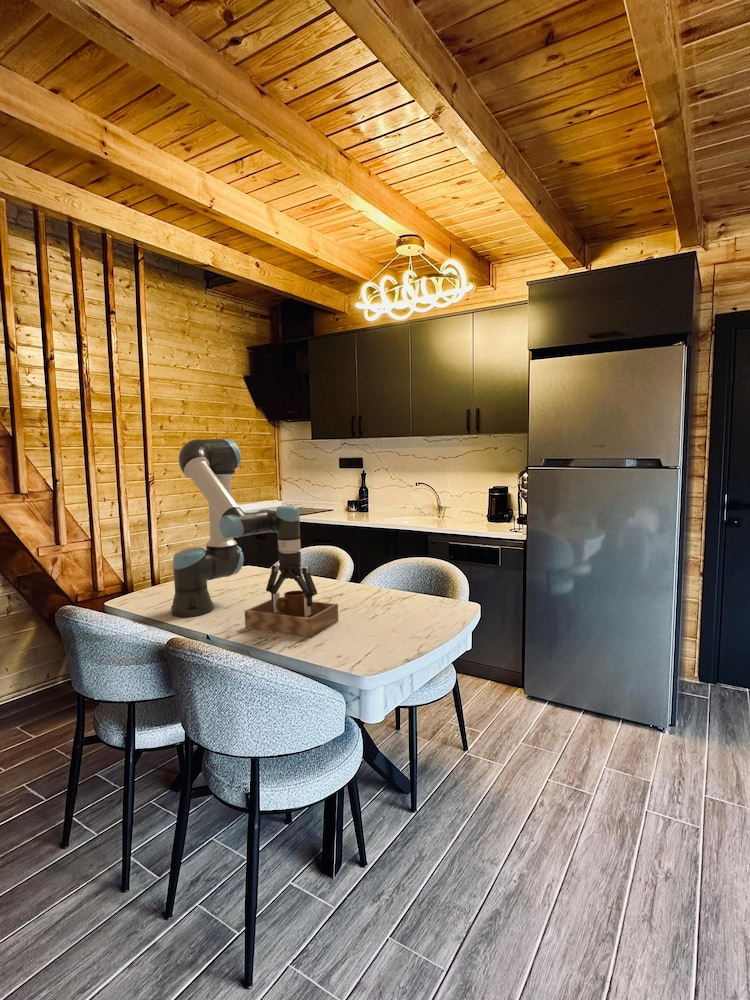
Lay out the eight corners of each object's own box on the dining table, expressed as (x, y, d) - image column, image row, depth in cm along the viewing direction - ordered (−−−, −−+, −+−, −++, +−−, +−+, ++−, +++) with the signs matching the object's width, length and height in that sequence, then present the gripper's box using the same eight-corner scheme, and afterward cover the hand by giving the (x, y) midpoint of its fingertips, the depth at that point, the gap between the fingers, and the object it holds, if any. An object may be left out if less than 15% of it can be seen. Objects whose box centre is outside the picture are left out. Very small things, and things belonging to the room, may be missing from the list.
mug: (285, 627, 179) (284, 599, 178) (270, 623, 184) (269, 596, 183) (311, 618, 188) (310, 592, 187) (296, 615, 193) (295, 589, 192)
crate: (245, 628, 183) (244, 610, 182) (276, 613, 199) (275, 597, 198) (311, 637, 172) (310, 619, 171) (338, 620, 188) (337, 603, 188)
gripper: (253, 551, 185) (256, 613, 187) (314, 555, 175) (316, 620, 177) (266, 547, 192) (269, 607, 194) (325, 551, 181) (328, 614, 183)
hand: (292, 613), depth 185 cm, fingers open, 12 cm apart
